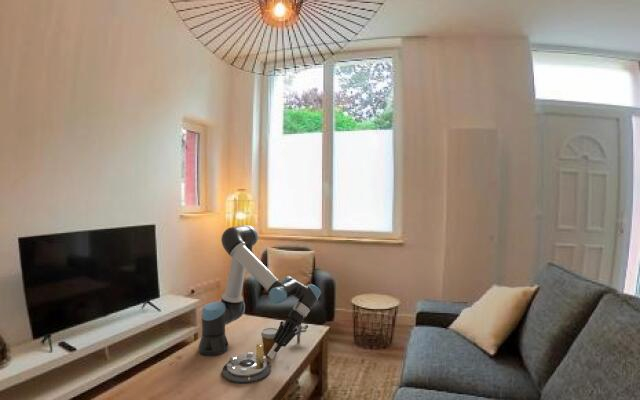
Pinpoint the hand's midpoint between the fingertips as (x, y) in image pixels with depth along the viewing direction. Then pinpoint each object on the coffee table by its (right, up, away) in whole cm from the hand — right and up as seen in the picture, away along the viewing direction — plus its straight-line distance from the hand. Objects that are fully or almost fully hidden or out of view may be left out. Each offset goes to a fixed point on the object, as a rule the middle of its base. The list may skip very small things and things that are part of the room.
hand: (269, 357), depth 173 cm
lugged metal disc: (-11, -5, +1) cm, 12 cm away
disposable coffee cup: (-2, -6, +19) cm, 20 cm away
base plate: (-11, -7, +1) cm, 13 cm away
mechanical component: (+11, -6, +34) cm, 36 cm away
